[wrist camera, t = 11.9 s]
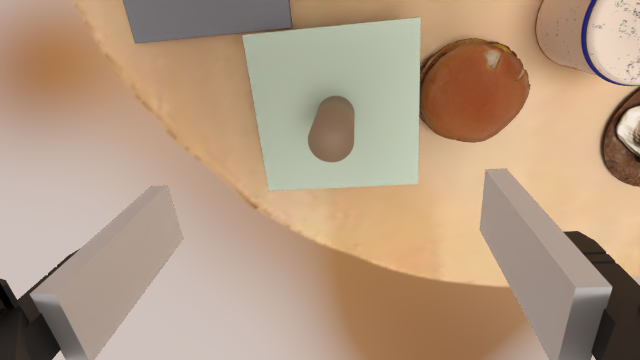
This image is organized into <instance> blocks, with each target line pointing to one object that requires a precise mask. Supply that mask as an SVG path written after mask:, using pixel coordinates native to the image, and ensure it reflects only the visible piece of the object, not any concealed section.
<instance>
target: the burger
mask: <svg viewBox="0 0 640 360" xmlns="http://www.w3.org/2000/svg"><path fill="white" fill-rule="evenodd" d="M529 90H530V85H529V80H528V73H527V71H526V70H524V69H523V64H522V62H521V60H520V59H519V58H517V55H516V53H515V52H514V51H511V50H510V48H509V47H508V46H505V45H502V44H499V43H498V42H486V41H485V40H481V39H466V40H459V41H456V43H452V44H449V45H447V46H446V47H444V48H443V49H441V50H440V51H439V52H438V53H436V54H435V55H434V56H432V57H431V58H430V59H429V60H428V62H427V64H426V66H425V67H424V69H423V70H422V71H421V73H420V95H419V116H420V117H421V118H422V120H423V121H424V122H425V123H426V124H427V125H428V126H429V128H430V129H431V130H433V131H434V132H435V133H436V134H438V135H440V136H442V137H445V138H449V139H453V140H454V139H455V140H458V141H462V142H481V141H485V140H487V139H489V138H491V137H493V136H494V135H496V134H497V133H499V132H500V131H501V130H502V129H503V128H505V127H506V126H507V125H508V124H509V123H510V122H511V121H512V120H513V119H514V118H515V117H516V115H517V114H518V113H519V112H520V110H521V109H522V107H523V105H524V103H525V101H526V99H527V97H528V94H529Z"/></svg>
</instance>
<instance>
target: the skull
mask: <svg viewBox="0 0 640 360" xmlns="http://www.w3.org/2000/svg"><path fill="white" fill-rule="evenodd" d="M604 141H605V142H604V148H603V150H604V159H605V162H606V164H607V166H608V169H609V170H610V171H611V173H612V174H613V175H614V176H615V177H616V178H618V179H619V180H621V181H622V182H624V183H627V184H630V185H632V186H638V187H640V91H638V92H637V93H636V94H634V95H633V96H632V97H631V98H630V99H629V100H628V101H627V102H626V103H625V104H624V105H623V106H622V107H621V108H620V110H619V111H618V112H617V113H616V115H615V116H614V117H613V120H612V122H610V125H609V127H608V129H607V133H606V138H605V140H604ZM606 148H607V149H606Z"/></svg>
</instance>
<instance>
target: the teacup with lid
mask: <svg viewBox="0 0 640 360" xmlns="http://www.w3.org/2000/svg"><path fill="white" fill-rule="evenodd" d="M536 34H537V39H538V43H539V45H540V47H541V49H542V51H543V52H544V54H545V55H546V56H547V57H548V58H549V59H551V60H552V61H554V62H555V63H557V64H560V65H563V66H566V67H570V68H573V69H577V70H581V71H584V72H588V73H591V74H595V75H598V76H599V77H601V78H602V79H604V80H606V81H608V82H611V83H613V84H617V85H623V86H640V0H544V1H543V3H542V5H541V8H540V10H539V13H538V17H537V24H536Z"/></svg>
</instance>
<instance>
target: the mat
mask: <svg viewBox="0 0 640 360" xmlns="http://www.w3.org/2000/svg"><path fill="white" fill-rule="evenodd" d="M123 3H124V6H125V10H126V13H127V17H128V20H129V24H130V27H131V31H132V34H133V38H134V42H135V43H145V42H155V41H165V40H175V39H185V38H195V37H204V36H214V35H224V34H234V33H244V32H254V31H264V30H274V29H284V28H292V20H291V11H290V3H289V0H123Z"/></svg>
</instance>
